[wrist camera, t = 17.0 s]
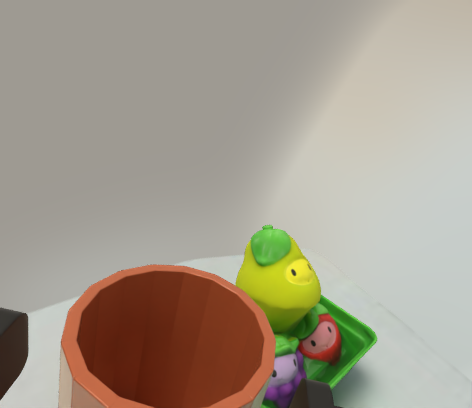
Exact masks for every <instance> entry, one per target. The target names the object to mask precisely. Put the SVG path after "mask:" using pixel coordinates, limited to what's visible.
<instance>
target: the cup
mask: <svg viewBox="0 0 472 408" xmlns="http://www.w3.org/2000/svg"><path fill="white" fill-rule="evenodd" d="M275 349H276V338H275V336H274V334H273V331H272V329H271V327H270V324H269V322H268V319H267V317H266V315H265V313H264V311H263V310H262V309H261V308H260V307H259V306H258V305H257V304H256V303H255V302H254V301H253V300H252V299H251V298H250V297H249V296H248V295H247V293H246V292H245V291H243V290H242V289H240V288H239V287H237V286H235V285H233V284H231V283H230V282H228V281H226V280H224V279H223V278H221V277H219V276H217V275H215V274H212V273H208V272H205V271H201V270H197V269H194V268H190V267H187V266H186V267H185V266H174V265H147V266H142V267H137V268H132V269H126V270H121V271H118V272H117V273H114V274H112V275H111V276H109V277H107V278H105V279H103V280H101V281H99V282H97V283H95V284H93V285H91V286H90V287H89V288H88V289H87V290H86V291H85V292H84V294H83V295H82V296H81V297H80V298H79V299H78V300H77V301H76V302H75V304H74V305H73V306H72V307H71V308H70V309H69V311H68V314H67V318H66V322H65V327H64V331H63V335H62V339H61V349H60V376H59V402H58V408H260V407H261V404H262V401H263V399H264V396H265V393H266V390H267V388H268V385H269V382H270V379H271V377H272V374H273V371H274V362H275Z"/></svg>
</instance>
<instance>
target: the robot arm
mask: <svg viewBox="0 0 472 408" xmlns="http://www.w3.org/2000/svg"><path fill="white" fill-rule="evenodd" d="M27 357H28V316H27V314H26V313H22V312H18V311H13V310H9V309H4V308H0V400H1V399H2V397H3V396H4V395H5V393H6V392H7V391H8V389H9V388H10V387H11V385H12V384H13V383H14V381H15V380H16V379H17V377H18V376H19V375H20V373H21V371H22V370H23V368H24V366H25V363H26V360H27ZM289 408H342V407H337V406H334V402H333V397H332V392H331V388H330V385H329V384H328V383H323V382H319V381H315V380H310V379H306V378H302V379H301V380H300V382H299V385H298V387H297V390H296V392H295V395H294V397H293V399H292V402H291V404H290V407H289Z"/></svg>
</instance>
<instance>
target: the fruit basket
mask: <svg viewBox="0 0 472 408" xmlns="http://www.w3.org/2000/svg"><path fill="white" fill-rule="evenodd" d="M262 228H263V230H261V231H258V232H257V233H256V234H254V235H253V237H252V238H251V240H250V242H249V243H248V244H247V247H246V250H245V256H244V261H243V264H242V266H241V268H240V270H239V273H238V276H237V279H236V286H237V287H239V288H240V289H242V290H243V291H245V292H246V293H247V295H248V296H249V297H250V298H251V299H252V300H253V301H254V302H255V303H256V304H257V305H258V306H259V307H260V308H261V309H262V310H263V311H264V313H265V315H266V317H267V319H268V322H269V324H270V327H271V329H272V331H273V334H274V336H275V338H276V349H275V362H274V371H273V374H272V377H271V379H270V382H269V385H268V388H267V390H266V393H265V396H264V399H263V401H262V404H261V407H260V408H289V407H290V404H291V402H292V399H293V397H294V395H295V392H296V390H297V387H298V385H299V382H300V380H301V379H302V378H306V379H310V380H315V381H319V382H323V383H328V384H329V385H330V388H331V390H332V389H333V388H334V387H335V386H336V384H337V383H338V382H339V381H340V380H341V379H342V378H343V377H344V376H345V375H346V374H347V373H348V372H349V371H350V370H351V369H352V367H353V366H354V365H355V364H356V363H357V362H358V361H359V359H360V358H361V357H362V356H363V355H364V354H365V353H366V352H367V351H368V350H369V349H370V348H371V347H372V346H373V345H374V344H375V343H376V341H377V336H376V334H375V332H374V331H373V330H372V329H371V328H370V327H368V326H367V325H365V324H364V323H362V322H361V321H359V320H358V319H356V318H355V317H353V316H352V315H350V314H349V313H347V312H346V311H344V310H343V309H342V308H340V307H338V306H337V305H335V304H334V303H333V302H331V301H330V300H328V299H327V298H325V297H324V296H322V295H321V287H320V283H319V280H318V277H317V275H316V273H315V271H314V269H313V268H312V266H311V264H310V263H309V261H308V260H307V259H306V257H305V256H304V255H303V254H302V252H301V250H300V249H299V247H298V245H297V243H296V242H295V240H293V238H292V237H290V236H289V235H288V234H287V233H286V232H285V231H283V230H280V229H273V226H272V225H265V226H263V227H262Z"/></svg>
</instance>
